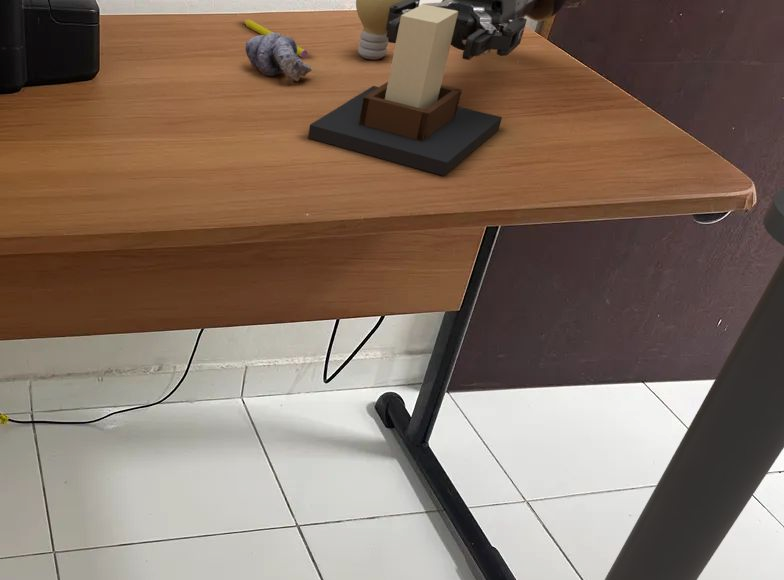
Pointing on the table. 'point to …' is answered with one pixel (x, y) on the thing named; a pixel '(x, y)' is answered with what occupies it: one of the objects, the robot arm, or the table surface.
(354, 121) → the square socket base
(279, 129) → the table surface
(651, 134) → the table surface
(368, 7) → the light bulb
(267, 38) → the grey knotted piece
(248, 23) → the pencil
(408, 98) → the cream rectangular block
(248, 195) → the table surface
